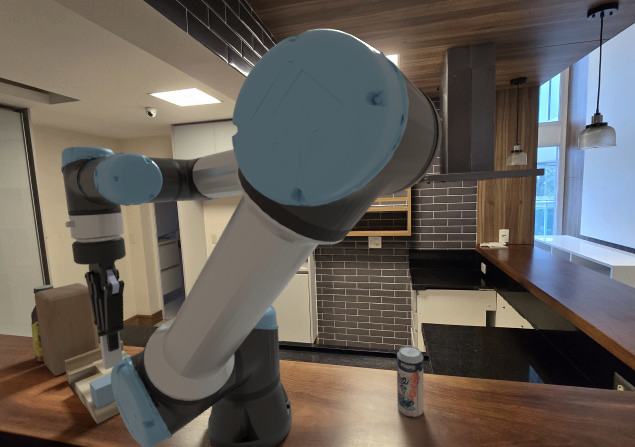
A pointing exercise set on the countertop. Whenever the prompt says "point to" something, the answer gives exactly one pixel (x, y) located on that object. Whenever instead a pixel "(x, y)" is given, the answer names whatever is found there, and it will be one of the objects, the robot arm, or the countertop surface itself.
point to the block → (65, 324)
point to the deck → (90, 380)
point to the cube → (102, 391)
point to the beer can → (410, 381)
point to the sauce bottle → (37, 327)
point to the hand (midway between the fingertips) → (113, 364)
